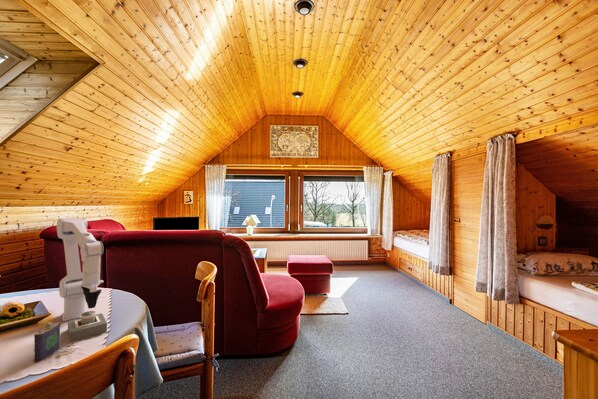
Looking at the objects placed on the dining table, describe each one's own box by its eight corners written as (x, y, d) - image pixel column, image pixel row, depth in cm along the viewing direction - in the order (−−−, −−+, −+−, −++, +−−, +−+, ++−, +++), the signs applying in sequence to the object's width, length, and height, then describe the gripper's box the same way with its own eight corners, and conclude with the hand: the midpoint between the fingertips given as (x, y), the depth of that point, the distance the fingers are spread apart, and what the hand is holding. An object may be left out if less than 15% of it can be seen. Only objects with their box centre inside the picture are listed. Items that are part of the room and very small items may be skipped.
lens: (79, 330, 105) (80, 312, 105) (93, 326, 108) (94, 309, 108) (81, 334, 102) (82, 316, 102) (96, 330, 105) (96, 313, 105)
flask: (53, 346, 93) (54, 316, 93) (63, 346, 94) (63, 316, 94) (31, 363, 84) (32, 329, 84) (41, 362, 84) (42, 329, 84)
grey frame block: (67, 329, 105) (68, 320, 105) (101, 321, 113) (102, 312, 113) (70, 341, 97) (70, 331, 97) (106, 331, 104) (106, 322, 104)
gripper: (106, 274, 105) (105, 307, 105) (101, 266, 115) (100, 297, 115) (83, 277, 100) (82, 312, 100) (80, 269, 110) (79, 301, 110)
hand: (90, 304), depth 107 cm, fingers open, 7 cm apart
